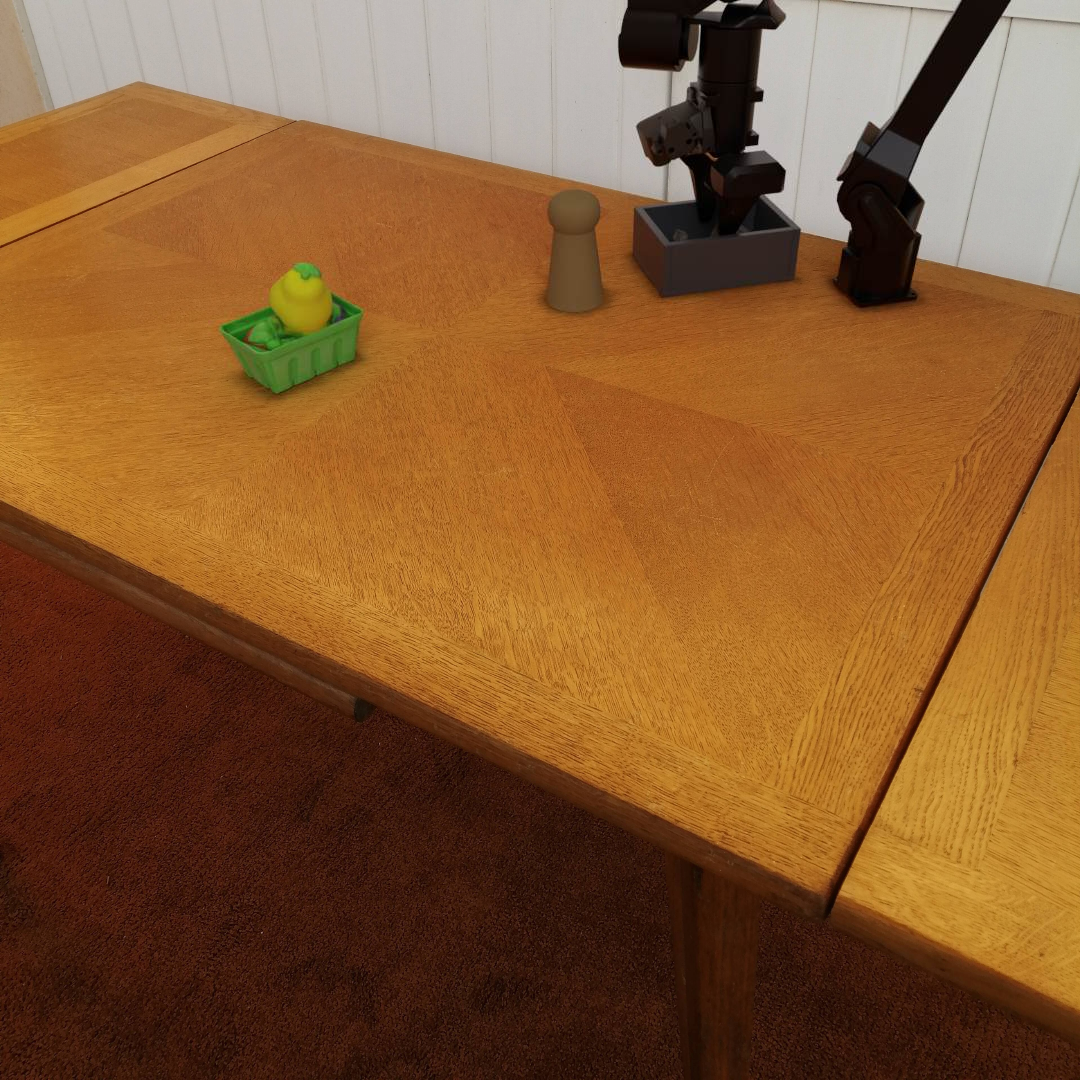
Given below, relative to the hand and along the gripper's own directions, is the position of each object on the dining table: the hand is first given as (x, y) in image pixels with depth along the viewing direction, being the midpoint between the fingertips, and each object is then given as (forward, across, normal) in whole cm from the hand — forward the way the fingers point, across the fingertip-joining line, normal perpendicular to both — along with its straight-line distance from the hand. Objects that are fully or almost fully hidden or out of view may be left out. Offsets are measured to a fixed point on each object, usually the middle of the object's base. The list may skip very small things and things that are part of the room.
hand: (714, 232), depth 106 cm
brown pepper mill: (+4, +3, -16) cm, 17 cm away
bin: (+4, 0, 0) cm, 4 cm away
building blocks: (+4, 0, 0) cm, 4 cm away
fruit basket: (+4, +10, -44) cm, 45 cm away
